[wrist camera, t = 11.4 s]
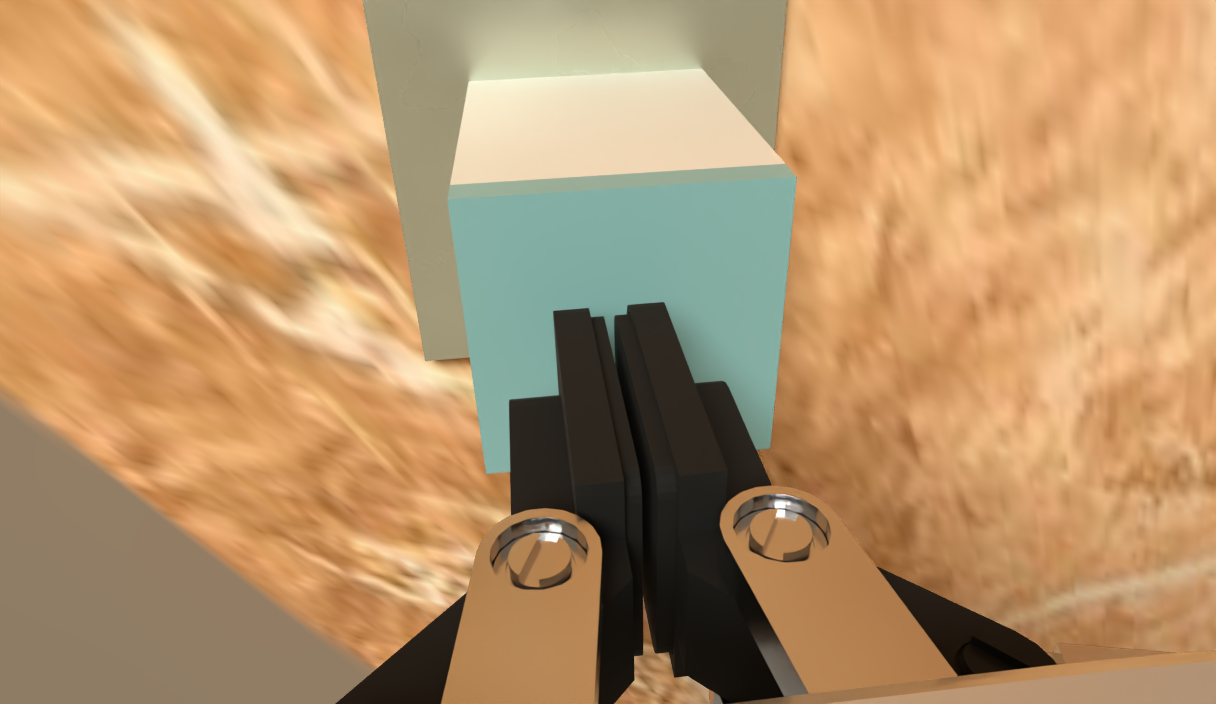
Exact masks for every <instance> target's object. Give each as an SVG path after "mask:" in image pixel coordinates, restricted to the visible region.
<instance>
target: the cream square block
mask: <svg viewBox="0 0 1216 704" xmlns="http://www.w3.org/2000/svg"><path fill="white" fill-rule="evenodd" d="M363 6H364V12H365V17H366V23H367V29H368V35H369V40H370V46H371V52H372V58H373V63H374V69H375V75H376V81H377V86H378V92H379V98H380V104H381V109H382V115H383V121H384V127H385V132H386V138H387V144H388V150H389V155H390V161H391V167H392V173H393V178H394V184H395V190H396V196H397V201H398V207H399V213H400V218H401V224H402V230H403V236H404V241H405V247H406V253H407V259H408V264H409V270H410V276H411V282H412V287H413V293H414V299H415V305H416V310H417V316H418V322H419V328H420V333H421V339H422V345H423V351H424V356H425V361H431V360H444V359H457V358H470V356H469V349H468V342H467V335H466V328H465V320H464V313H463V306H462V299H461V292H460V285H459V278H458V271H457V264H456V257H455V250H454V243H453V236H452V229H451V222H450V215H449V208H448V201H447V198H448V193H449V187H450V182H451V176H452V171H453V165H454V160H455V154H456V149H457V143H458V138H459V132H460V127H461V121H462V116H463V110H464V105H465V99H466V94H467V88H468V83H469V81H485V80H504V79H522V78H541V77H559V76H577V75H596V74H614V73H633V72H651V71H669V70H688V69H703V70H704V71H705V73H706V74H707V75H708V76H709V77H710V78H711V79H712V81H713V82H714V83H715V84H716V85H717V86H718V87H719V89H720V90H721V91H722V92H723V93H724V94H725V95H726V97H727V98H728V99H729V100H730V101H731V102H732V103H733V105H734V106H735V107H736V108H737V109H738V110H739V111H740V113H741V114H742V115H743V116H744V117H745V118H746V119H747V121H748V122H749V123H750V124H751V125H752V126H753V127H754V128H755V130H756V131H757V132H758V133H759V134H760V135H761V136H762V138H763V139H764V140H765V141H766V142H767V143H768V144H769V146H770V147H771V148H772V149H773V150H775V138H776V126H777V114H778V102H779V90H780V79H781V67H782V55H783V43H784V31H785V19H786V7H787V0H363Z"/></svg>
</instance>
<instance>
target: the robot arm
mask: <svg viewBox="0 0 1216 704" xmlns="http://www.w3.org/2000/svg"><path fill="white" fill-rule="evenodd" d="M553 320H554V335H555V348H556V362H557V376H558V390H559V395H555V396H543V397H532V398H521V399H509V433H510V483H511V516H509V517H507V518H505V519H504V520H502V521H500V522H499V523H497V524H496V525H494V526H493V527H492V528H491V529H490V530H489V531H488V533H487V534H486V535H485V536H484V537H483V538H482V541H481V543H480V545H479V547H478V550H477V552H476V556H475V561H474V565H473V569H472V573H471V578H470V582H469V586H468V591H467V593H466V594H465V595H463V596H462V597H461V598H460V599H459V600H457V601H456V602H455V603H454V604H453V605H452V606H450V607H449V608H448V609H447V610H446V611H444V612H443V613H442V614H441V615H440V616H439V617H437V618H436V619H435V620H434V621H433V622H431V623H430V624H429V625H428V626H427V627H426V628H424V629H423V630H422V631H421V632H420V633H418V634H417V635H416V636H415V637H414V638H413V639H411V640H410V641H409V642H408V643H407V644H405V645H404V646H403V647H402V648H401V649H400V650H398V651H397V652H396V653H395V654H394V655H392V656H391V657H390V658H389V659H388V660H387V661H385V662H384V663H383V664H382V665H381V666H379V667H378V668H377V669H376V670H375V671H374V672H372V673H371V674H370V675H369V676H368V677H366V678H365V679H364V680H363V681H362V682H361V683H359V684H358V685H357V686H356V687H355V688H354V689H352V690H351V691H350V692H349V693H348V694H346V695H345V696H344V697H343V698H342V699H340V700H339V701H338V702H337V703H336V704H614V703H615V702H616V701H617V700H618V698H619V697H620V696H621V695H622V694H623V693H624V691H625V690H626V689H627V688H628V687H629V686H630V684H631V683H632V682H633V681H634V656H640V655H643V598H644V603H645V608H646V613H647V618H648V623H649V628H650V633H651V639H652V644H653V648H654V651H655V653H656V654H657V653H665V652H669V655H670V660H671V664H672V669H673V673H674V678H675V677H683V676H689V677H690V678H692V679H694V680H695V681H697V682H698V683H700V684H701V685H703V686H705V687H706V688H708V689H709V690H710V691H709V700H710V704H1216V651H1204V652H1186V653H1173V652H1161V651H1149V650H1137V649H1125V648H1113V647H1101V646H1089V645H1077V644H1065V643H1057V644H1056V646H1055V649H1054V651H1053V653H1051V652H1045V651H1044V650H1043V649H1042V648H1040V647H1039V646H1038V645H1037V644H1036V643H1034V642H1033V641H1031V640H1029V639H1028V638H1026V637H1024V636H1022V635H1021V634H1019V633H1017V632H1016V631H1014V630H1012V629H1009V628H1007V627H1005V626H1003V625H1001V624H999V623H997V622H994V621H992V620H990V619H988V618H986V617H984V616H982V615H979V614H977V613H975V612H973V611H971V610H969V609H967V608H965V607H962V606H960V605H958V604H956V603H954V602H952V601H950V600H947V599H945V598H943V597H941V596H939V595H937V594H935V593H932V592H930V591H928V590H926V589H924V588H922V587H920V586H917V585H915V584H913V583H911V582H909V581H907V580H905V579H903V578H900V577H898V576H896V575H894V574H892V573H890V572H888V571H885V570H883V569H881V568H879V567H877V566H876V565H875V564H874V563H873V561H872V560H871V559H870V557H869V556H868V555H867V553H866V552H865V551H864V549H863V548H862V547H861V545H860V544H859V543H858V541H857V540H856V539H855V537H854V536H853V535H852V533H851V532H850V531H849V529H848V528H847V527H846V525H845V524H844V523H843V521H842V520H841V518H840V517H839V516H838V514H837V513H836V512H835V511H834V510H833V509H832V508H831V507H830V506H829V505H828V504H827V503H826V502H824V501H822V500H821V499H819V498H817V497H815V496H814V495H812V494H810V493H808V492H804V491H801V490H798V489H795V488H792V487H783V486H774V485H773V486H772V485H771V483H770V481H769V478H768V476H767V474H766V471H765V469H764V467H763V464H762V462H761V460H760V458H759V455H758V453H757V451H756V448H755V446H754V444H753V442H752V439H751V437H750V435H749V432H748V430H747V428H746V425H745V423H744V421H743V419H742V416H741V414H740V412H739V409H738V407H737V405H736V403H735V400H734V398H733V396H732V393H731V391H730V389H729V387H728V385H727V383H726V382H724V381H713V382H702V383H695V382H694V380H693V377H692V374H691V372H690V369H689V366H688V364H687V361H686V358H685V356H684V353H683V350H682V348H681V345H680V342H679V340H678V337H677V334H676V332H675V329H674V326H673V324H672V321H671V318H670V316H669V313H668V310H667V308H666V305H665V303H664V302H657V303H644V304H632V305H628V306H627V314H624V315H615V316H614V341H615V362H614V357H613V353H612V349H611V344H610V340H609V336H608V331H607V327H606V323H605V319H604V316H600V317H591V315H590V310H589V308H581V309H569V310H556V311H553Z"/></svg>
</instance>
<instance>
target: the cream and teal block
mask: <svg viewBox="0 0 1216 704" xmlns="http://www.w3.org/2000/svg"><path fill="white" fill-rule="evenodd" d="M796 181H797V176H796V175H795V174H794V173H793V172H792V171H791V170H790V168H789V167H788V166H787V165H786V164H785V163H784V162H783V160H782V159H781V158H780V157H779V156H778V155H777V154H776V152H775V151H774V150H773V149H772V148H771V147H770V146H769V144H768V143H767V142H766V141H765V140H764V139H763V138H762V136H761V135H760V134H759V133H758V132H757V131H756V130H755V128H754V127H753V126H752V125H751V124H750V123H749V122H748V121H747V119H746V118H745V117H744V116H743V115H742V114H741V113H740V111H739V110H738V109H737V108H736V107H735V106H734V105H733V103H732V102H731V101H730V100H729V99H728V98H727V97H726V95H725V94H724V93H723V92H722V91H721V90H720V89H719V87H718V86H717V85H716V84H715V83H714V82H713V81H712V79H711V78H710V77H709V76H708V75H707V74H706V73H705V71H704V70H703V69H688V70H669V71H651V72H633V73H614V74H596V75H577V76H559V77H541V78H522V79H504V80H485V81H469V83H468V88H467V94H466V99H465V105H464V110H463V116H462V121H461V127H460V132H459V138H458V143H457V149H456V154H455V160H454V165H453V171H452V176H451V182H450V187H449V193H448V198H447V201H448V208H449V215H450V222H451V229H452V236H453V243H454V250H455V257H456V264H457V271H458V278H459V285H460V292H461V299H462V306H463V313H464V320H465V328H466V335H467V342H468V349H469V356H470V363H471V370H472V377H473V384H474V391H475V398H476V405H477V412H478V419H479V426H480V433H481V440H482V447H483V454H484V461H485V468H486V474H490V473H501V472H510V433H509V399H521V398H532V397H543V396H555V395H559V390H558V376H557V362H556V348H555V335H554V320H553V311H556V310H569V309H581V308H589V310H590V315H591V317H600V316H604V319H605V323H606V327H607V331H608V336H609V340H610V344H611V349H612V353H613V357H614V362H615V341H614V316H615V315H624V314H627V306H628V305H632V304H644V303H657V302H664V303H665V305H666V308H667V310H668V313H669V316H670V318H671V321H672V324H673V326H674V329H675V332H676V334H677V337H678V340H679V342H680V345H681V348H682V350H683V353H684V356H685V358H686V361H687V364H688V366H689V369H690V372H691V374H692V377H693V380H694V382H695V383H702V382H713V381H724V382H726V383H727V385H728V387H729V389H730V391H731V393H732V396H733V398H734V400H735V403H736V405H737V407H738V409H739V412H740V414H741V416H742V419H743V421H744V423H745V425H746V428H747V430H748V432H749V435H750V437H751V439H752V442H753V444H754V446H755V448H756V450H760V449H770V444H771V434H772V424H773V414H774V404H775V394H776V384H777V373H778V363H779V353H780V343H781V333H782V323H783V313H784V302H785V292H786V282H787V272H788V262H789V252H790V242H791V231H792V221H793V211H794V201H795V191H796Z"/></svg>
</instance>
